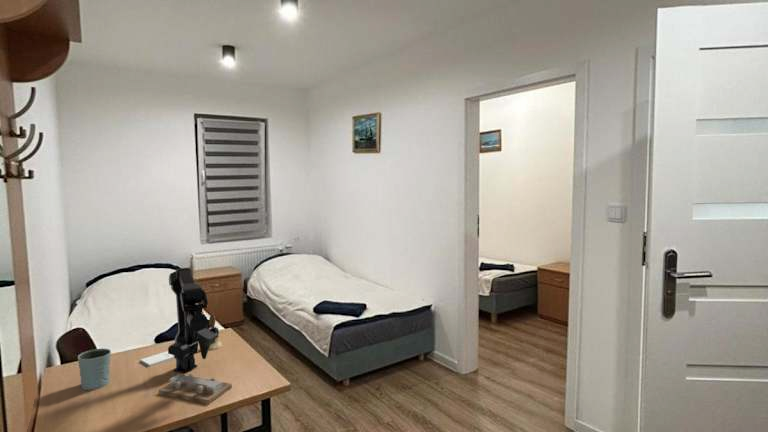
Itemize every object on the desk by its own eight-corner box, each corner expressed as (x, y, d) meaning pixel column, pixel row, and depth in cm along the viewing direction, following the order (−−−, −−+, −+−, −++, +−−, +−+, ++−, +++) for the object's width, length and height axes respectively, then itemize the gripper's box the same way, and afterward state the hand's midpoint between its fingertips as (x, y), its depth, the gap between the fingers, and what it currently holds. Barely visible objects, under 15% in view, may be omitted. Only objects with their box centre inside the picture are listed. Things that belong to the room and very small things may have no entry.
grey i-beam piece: (169, 385, 153) (169, 379, 153) (179, 379, 158) (179, 373, 157) (213, 394, 147) (213, 387, 147) (222, 388, 152) (222, 381, 151)
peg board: (158, 393, 150) (158, 383, 150) (184, 378, 162) (183, 368, 161) (208, 404, 144) (208, 393, 143) (231, 387, 155) (231, 377, 155)
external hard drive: (140, 363, 176) (169, 353, 186) (149, 368, 171) (179, 358, 181) (140, 359, 176) (169, 349, 186) (149, 364, 171) (179, 354, 181)
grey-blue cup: (73, 388, 154) (71, 356, 153) (99, 376, 163) (98, 346, 162) (92, 393, 150) (90, 361, 149) (118, 380, 160) (117, 350, 159)
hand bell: (226, 343, 196) (225, 310, 194) (215, 351, 188) (214, 316, 186) (210, 342, 197) (208, 309, 196) (199, 349, 189) (198, 315, 188)
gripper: (192, 334, 139) (193, 379, 140) (229, 316, 157) (230, 356, 158) (166, 330, 142) (167, 374, 144) (205, 313, 160) (206, 352, 161)
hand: (195, 363), depth 152 cm, fingers open, 9 cm apart
